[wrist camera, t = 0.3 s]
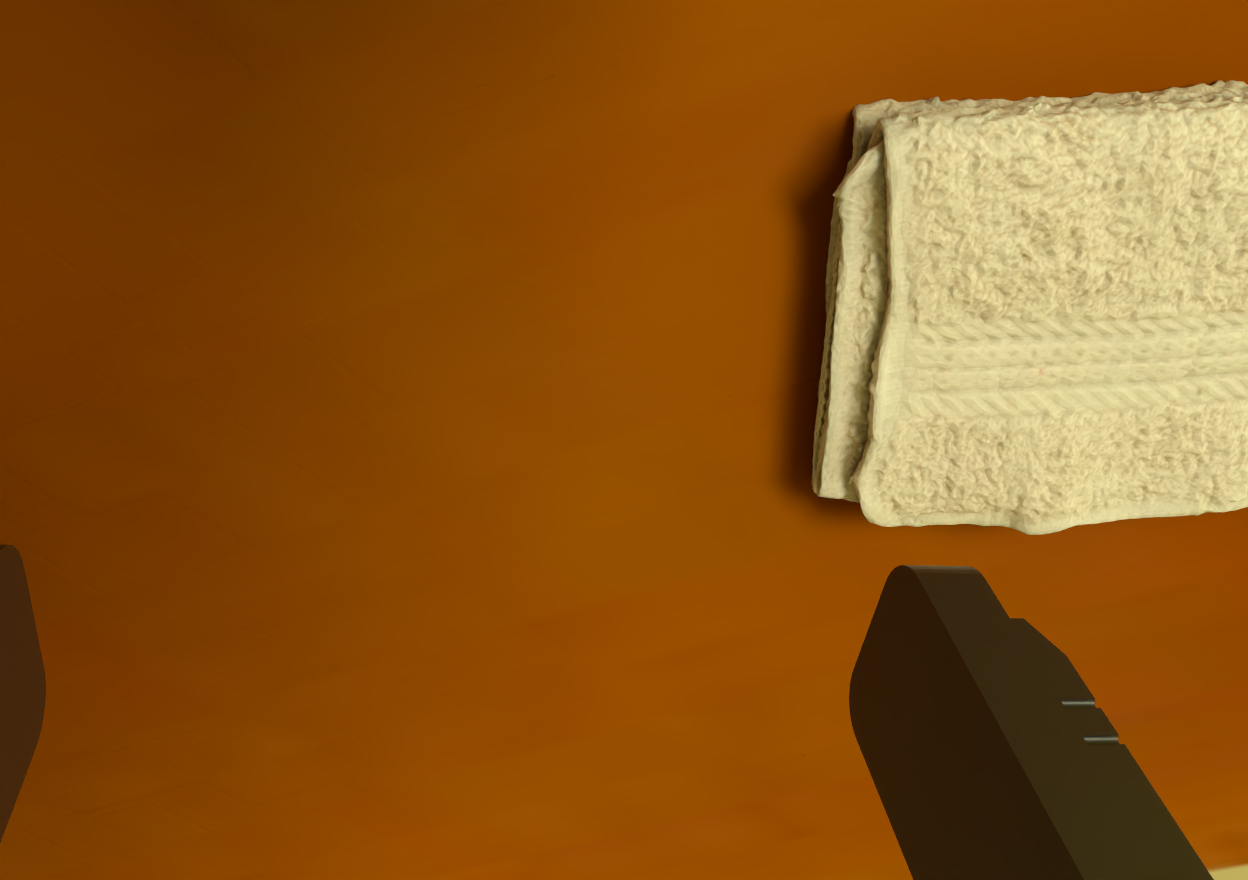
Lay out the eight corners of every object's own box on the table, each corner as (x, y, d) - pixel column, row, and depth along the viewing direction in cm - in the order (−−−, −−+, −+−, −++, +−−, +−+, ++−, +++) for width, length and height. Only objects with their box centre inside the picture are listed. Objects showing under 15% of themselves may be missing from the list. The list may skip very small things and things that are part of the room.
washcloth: (815, 92, 26) (851, 130, 23) (1526, 38, 27) (1635, 70, 24) (795, 496, 32) (821, 561, 30) (1370, 440, 34) (1443, 498, 31)
